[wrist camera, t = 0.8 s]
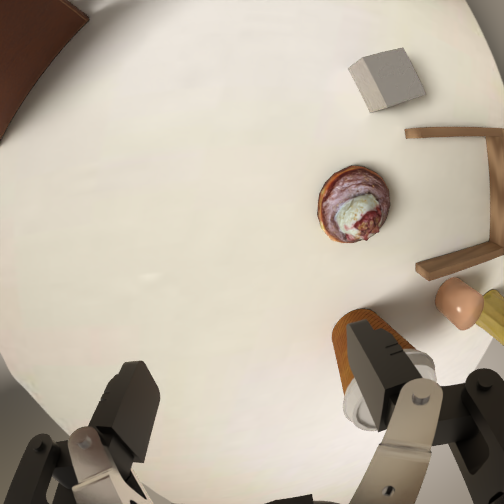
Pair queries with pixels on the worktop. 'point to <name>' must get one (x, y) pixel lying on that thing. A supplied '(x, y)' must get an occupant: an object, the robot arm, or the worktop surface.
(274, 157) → the worktop surface
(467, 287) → the peach rounded blob
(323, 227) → the pastry
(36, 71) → the letter holder
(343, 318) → the disposable coffee cup
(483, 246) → the display bay
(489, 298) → the vase
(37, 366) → the worktop surface
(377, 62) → the gray block
